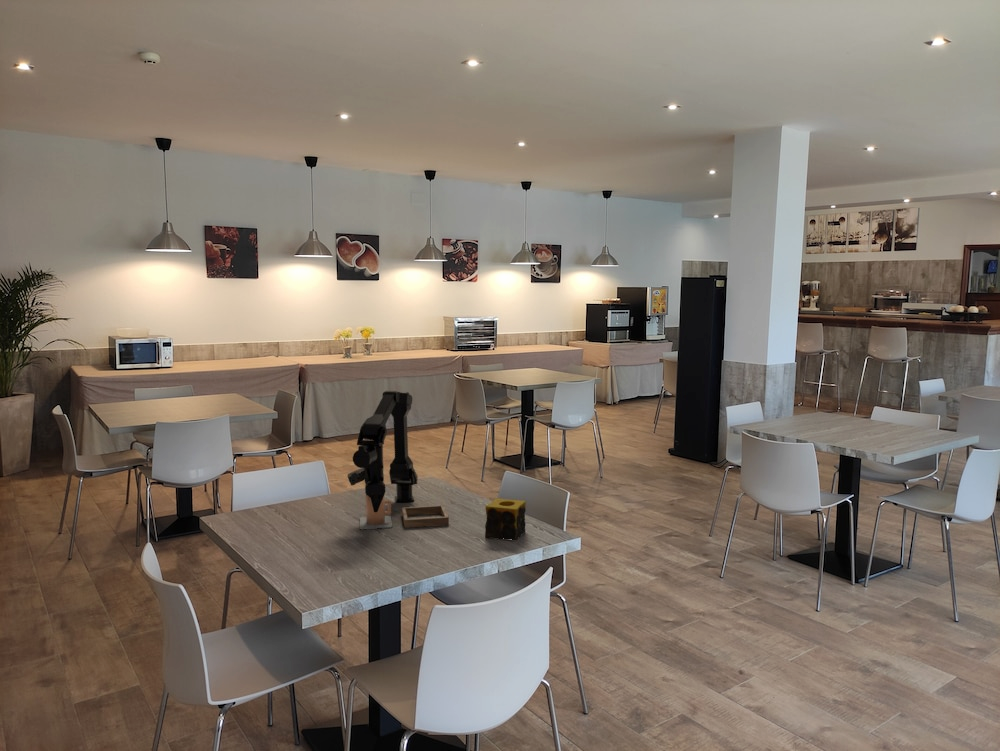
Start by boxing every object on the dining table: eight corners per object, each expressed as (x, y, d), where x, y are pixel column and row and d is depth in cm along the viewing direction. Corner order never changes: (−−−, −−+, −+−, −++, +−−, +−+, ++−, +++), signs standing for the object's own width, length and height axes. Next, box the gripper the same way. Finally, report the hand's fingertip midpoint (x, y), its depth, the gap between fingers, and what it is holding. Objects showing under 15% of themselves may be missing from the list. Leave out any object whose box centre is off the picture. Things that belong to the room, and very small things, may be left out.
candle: (484, 538, 219) (484, 506, 218) (495, 528, 229) (495, 497, 228) (516, 541, 216) (516, 509, 215) (526, 531, 226) (526, 500, 225)
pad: (359, 518, 239) (359, 517, 239) (390, 516, 241) (390, 515, 241) (360, 529, 228) (360, 528, 228) (392, 527, 230) (392, 526, 230)
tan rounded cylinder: (366, 519, 237) (365, 492, 236) (390, 517, 238) (390, 491, 237) (366, 525, 231) (365, 497, 230) (391, 523, 233) (391, 496, 232)
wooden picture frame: (402, 514, 243) (402, 507, 243) (443, 512, 246) (443, 505, 246) (404, 527, 229) (404, 520, 229) (448, 524, 232) (448, 517, 232)
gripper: (348, 455, 240) (350, 501, 241) (348, 468, 222) (349, 518, 223) (382, 454, 242) (383, 499, 244) (384, 467, 224) (386, 515, 225)
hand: (375, 508), depth 234 cm, fingers open, 9 cm apart
